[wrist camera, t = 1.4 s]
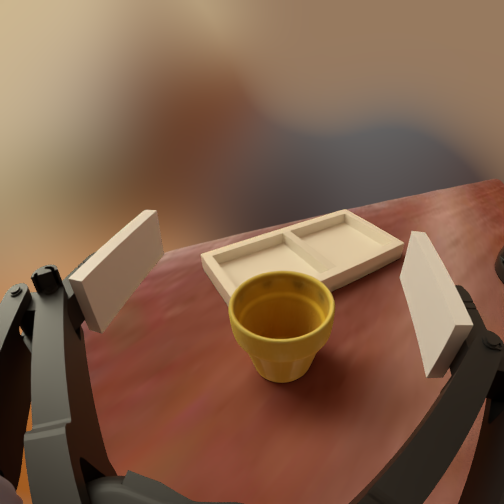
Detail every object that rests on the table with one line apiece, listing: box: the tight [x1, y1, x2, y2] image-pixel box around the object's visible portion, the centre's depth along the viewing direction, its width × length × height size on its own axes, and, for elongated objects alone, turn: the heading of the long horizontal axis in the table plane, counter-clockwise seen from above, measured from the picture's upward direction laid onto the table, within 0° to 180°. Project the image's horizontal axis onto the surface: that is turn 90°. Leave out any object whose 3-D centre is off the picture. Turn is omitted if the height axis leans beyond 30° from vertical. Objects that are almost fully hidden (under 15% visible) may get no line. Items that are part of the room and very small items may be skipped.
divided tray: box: [201, 209, 404, 307], centre depth 50 cm, size 31×16×3 cm, turn 117°
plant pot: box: [229, 271, 335, 383], centre depth 32 cm, size 10×10×10 cm
